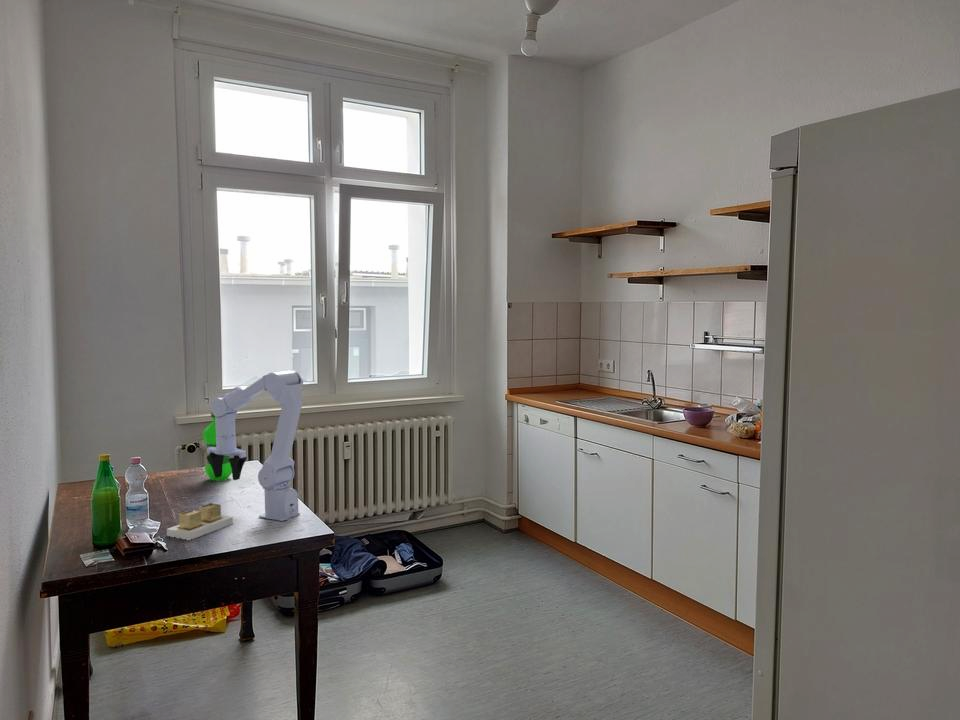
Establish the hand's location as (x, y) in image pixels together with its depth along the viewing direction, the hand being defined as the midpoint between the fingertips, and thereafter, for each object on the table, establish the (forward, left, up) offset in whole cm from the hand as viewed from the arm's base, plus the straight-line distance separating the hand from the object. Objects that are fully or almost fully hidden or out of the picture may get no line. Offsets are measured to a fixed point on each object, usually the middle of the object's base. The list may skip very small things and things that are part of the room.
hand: (227, 478), depth 211 cm
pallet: (-9, +19, -9) cm, 23 cm away
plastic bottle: (+30, -25, -10) cm, 40 cm away
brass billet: (-9, +16, -10) cm, 20 cm away
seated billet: (-9, +22, -10) cm, 26 cm away
